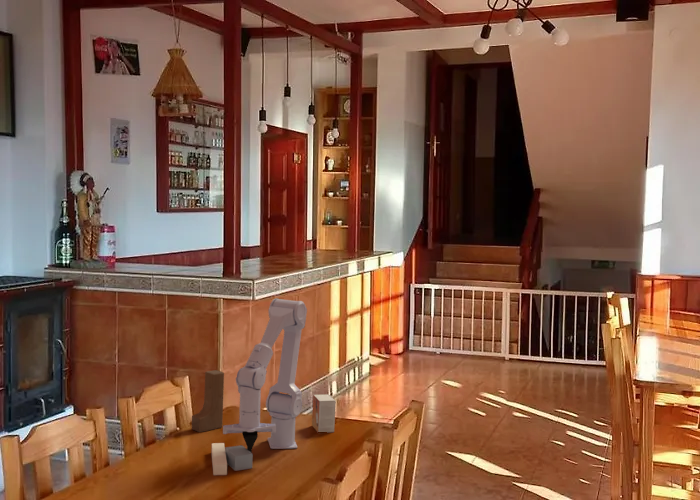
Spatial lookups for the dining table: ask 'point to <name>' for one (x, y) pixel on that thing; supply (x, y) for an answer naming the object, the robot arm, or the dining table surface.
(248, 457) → the block
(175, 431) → the dining table surface
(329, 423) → the small box
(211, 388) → the wooden block
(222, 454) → the beige rectangular bar
